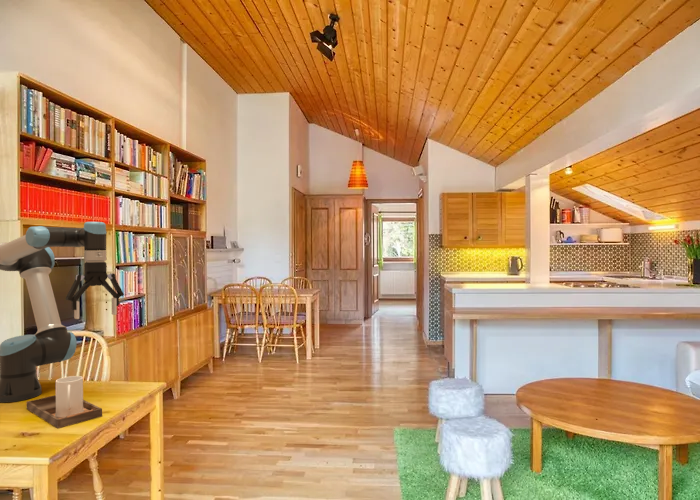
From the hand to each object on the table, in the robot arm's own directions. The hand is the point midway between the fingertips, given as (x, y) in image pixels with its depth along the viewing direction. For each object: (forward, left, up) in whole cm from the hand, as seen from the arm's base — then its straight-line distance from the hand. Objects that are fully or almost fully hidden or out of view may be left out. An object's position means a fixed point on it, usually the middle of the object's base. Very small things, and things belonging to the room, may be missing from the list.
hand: (96, 316), depth 177 cm
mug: (+14, -15, -31) cm, 37 cm away
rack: (+7, -14, -32) cm, 35 cm away
